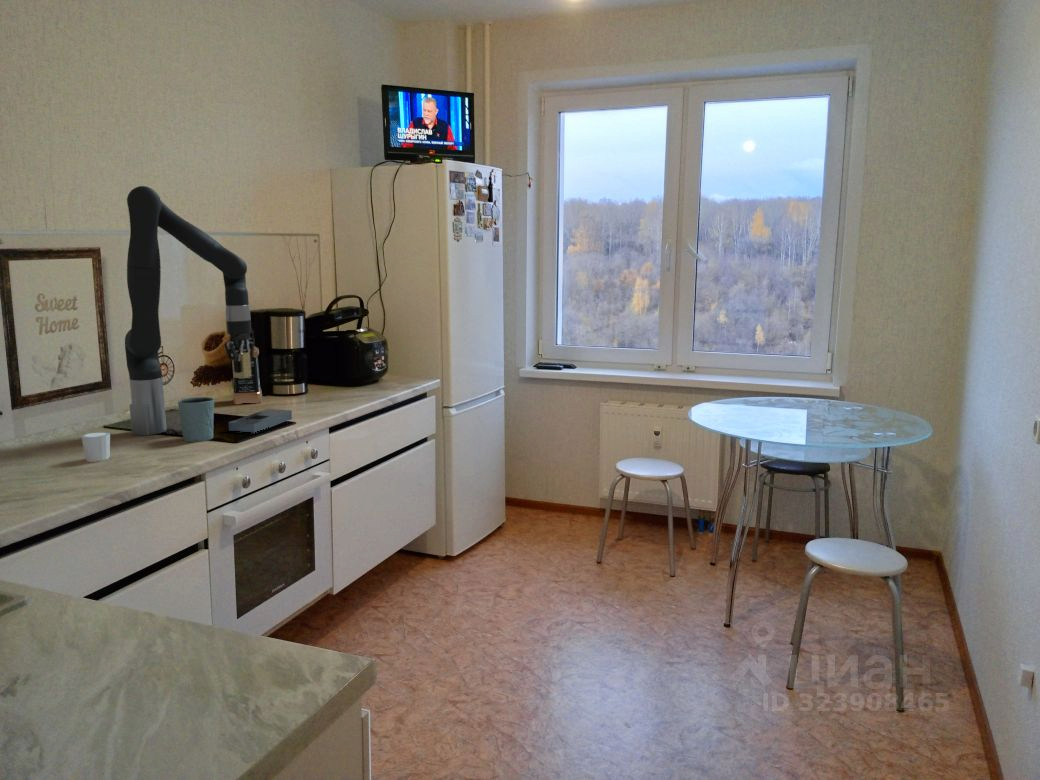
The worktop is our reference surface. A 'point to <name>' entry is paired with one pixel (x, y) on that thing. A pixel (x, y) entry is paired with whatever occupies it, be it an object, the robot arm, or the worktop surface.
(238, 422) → the rail plate
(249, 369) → the pale green tall block
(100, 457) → the white short cylinder
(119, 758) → the worktop surface
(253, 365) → the whiskey bottle
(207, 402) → the blue-green cup
